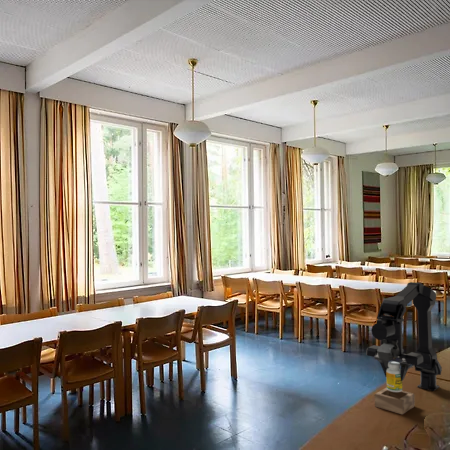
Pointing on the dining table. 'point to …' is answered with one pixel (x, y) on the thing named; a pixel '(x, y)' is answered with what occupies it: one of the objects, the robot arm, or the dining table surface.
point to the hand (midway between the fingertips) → (394, 378)
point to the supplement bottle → (394, 377)
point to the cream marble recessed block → (394, 401)
